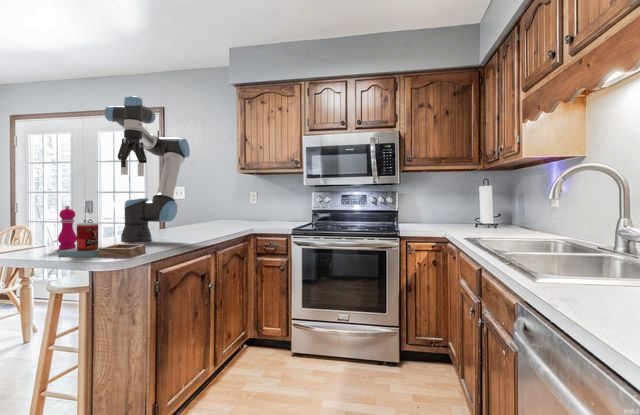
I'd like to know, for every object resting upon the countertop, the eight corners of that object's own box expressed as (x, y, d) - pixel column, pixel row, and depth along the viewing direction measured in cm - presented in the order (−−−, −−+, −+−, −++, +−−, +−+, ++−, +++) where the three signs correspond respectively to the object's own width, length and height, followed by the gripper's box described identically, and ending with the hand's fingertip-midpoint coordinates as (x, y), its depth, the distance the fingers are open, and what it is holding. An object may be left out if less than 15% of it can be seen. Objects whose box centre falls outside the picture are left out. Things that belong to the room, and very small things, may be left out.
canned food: (87, 251, 147) (87, 224, 146) (71, 249, 148) (71, 223, 148) (102, 248, 154) (102, 223, 154) (87, 247, 156) (87, 222, 155)
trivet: (82, 250, 158) (82, 246, 158) (113, 251, 158) (113, 247, 158) (58, 256, 144) (58, 251, 144) (92, 257, 144) (92, 252, 144)
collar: (117, 251, 158) (117, 243, 158) (145, 252, 158) (145, 244, 158) (98, 256, 145) (98, 248, 145) (128, 257, 145) (128, 249, 145)
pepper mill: (75, 246, 169) (75, 205, 168) (78, 248, 164) (78, 205, 163) (56, 248, 164) (56, 205, 163) (59, 250, 159) (59, 205, 158)
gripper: (125, 125, 153) (125, 174, 154) (154, 134, 178) (154, 177, 179) (108, 124, 153) (108, 173, 154) (139, 134, 178) (139, 176, 179)
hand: (132, 175), depth 166 cm, fingers open, 13 cm apart
